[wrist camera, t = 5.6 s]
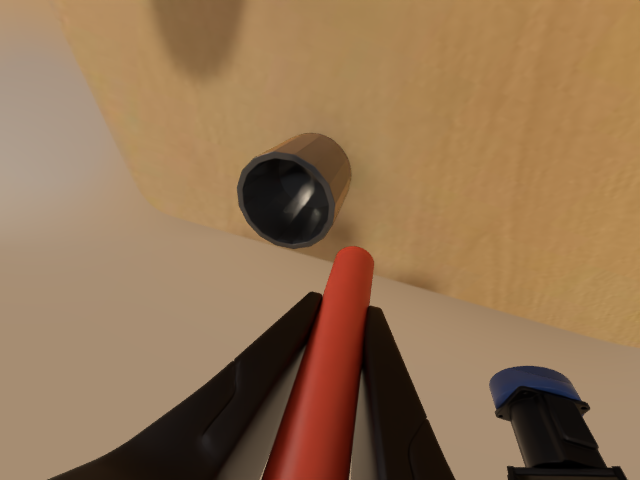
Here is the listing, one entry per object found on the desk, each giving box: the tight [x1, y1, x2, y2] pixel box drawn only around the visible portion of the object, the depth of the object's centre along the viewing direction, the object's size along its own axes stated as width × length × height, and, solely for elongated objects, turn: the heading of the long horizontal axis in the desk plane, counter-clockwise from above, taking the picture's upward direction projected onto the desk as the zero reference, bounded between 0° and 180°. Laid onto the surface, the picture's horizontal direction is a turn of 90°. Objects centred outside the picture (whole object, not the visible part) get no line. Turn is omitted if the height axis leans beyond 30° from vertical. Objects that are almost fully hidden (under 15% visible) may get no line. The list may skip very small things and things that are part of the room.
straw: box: [262, 246, 374, 480], centre depth 7 cm, size 2×2×9 cm
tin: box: [237, 133, 351, 249], centre depth 17 cm, size 6×6×6 cm
